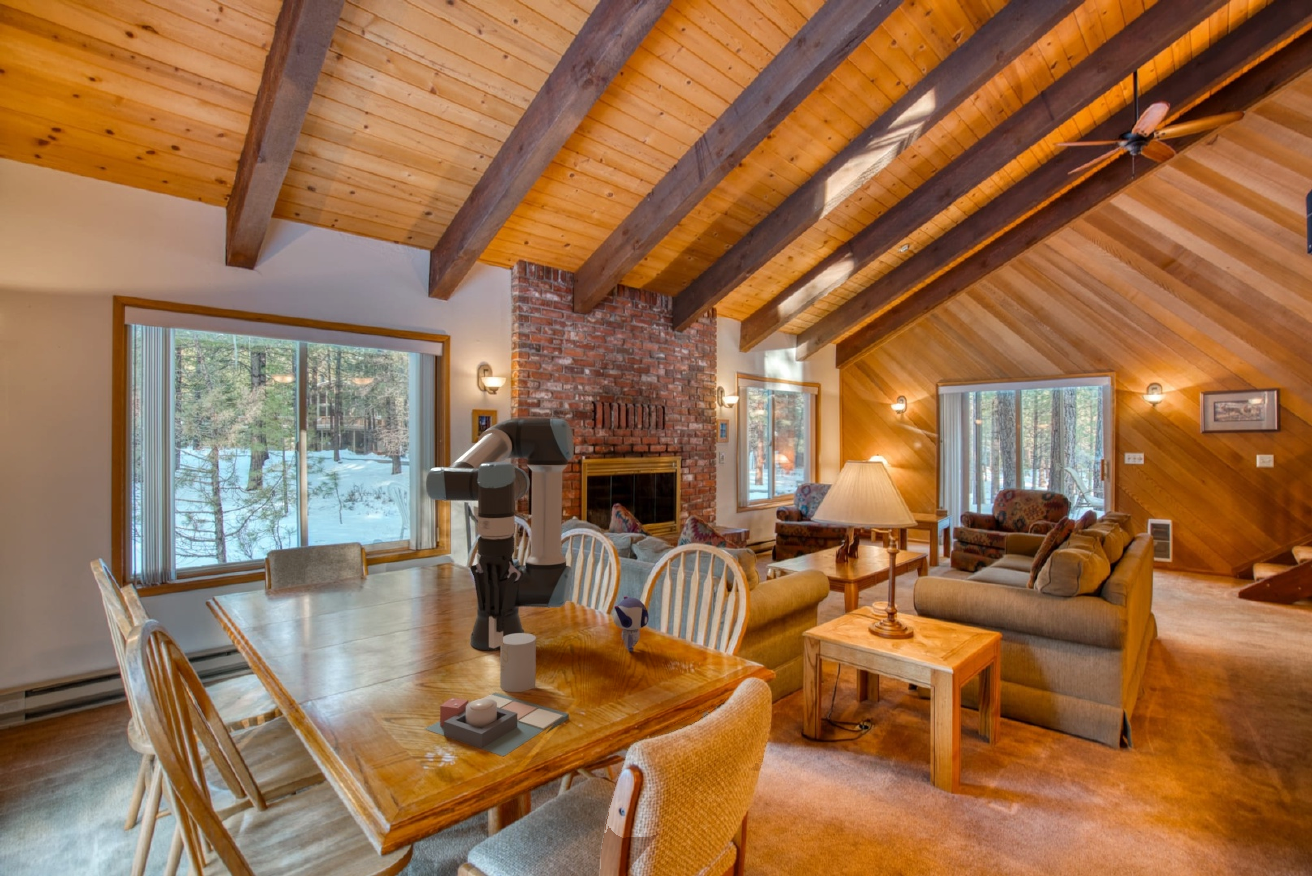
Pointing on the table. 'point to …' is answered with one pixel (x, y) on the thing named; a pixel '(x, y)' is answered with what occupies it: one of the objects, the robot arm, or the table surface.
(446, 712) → the die
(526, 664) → the white cylinder
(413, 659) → the table surface
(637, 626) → the toy
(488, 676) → the table surface
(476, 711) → the dome
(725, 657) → the table surface
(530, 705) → the board
